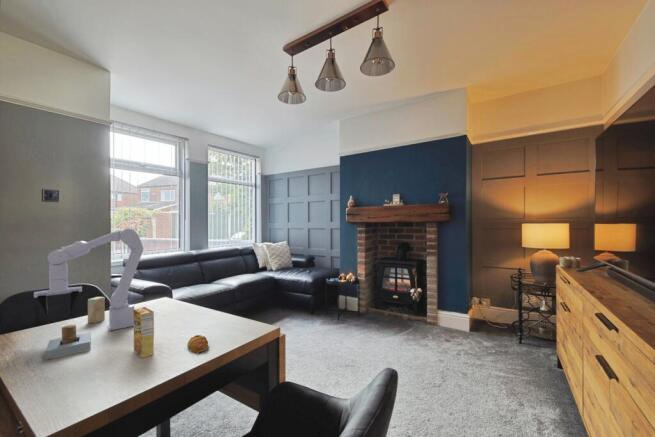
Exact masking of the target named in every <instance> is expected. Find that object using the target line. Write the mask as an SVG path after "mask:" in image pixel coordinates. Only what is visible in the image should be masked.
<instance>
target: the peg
mask: <svg viewBox="0 0 655 437" xmlns="http://www.w3.org/2000/svg"><path fill="white" fill-rule="evenodd" d="M76 335H77V325H76V324H68V325H65V326H62V327H61V338H62V345H64V344H69V343H73V342H77V337H76Z"/></svg>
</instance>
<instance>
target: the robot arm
mask: <svg viewBox="0 0 655 437" xmlns="http://www.w3.org/2000/svg"><path fill="white" fill-rule="evenodd" d="M120 241H121V242H122V243H123V244H125V245H127V247H128V248H129V250H130V252H129V255H128V258H127V260H126V264H125V266H124V269H123V271H122V274H121V277H120V279H119V282H118V285H117V287H116V290H115V291H113V292H112V294H111V296H110V299H109V305H110V306H108V307H109V308H108V310H109V311H108V312H109V313H108V316H109V317H108V319H109V321H108V322H109V324H108V325H107V327H108V331H109V332H111V331H115V330H120V329H124V328H129V327H134V311H133V310H134V309H135V305H134V304H130V303H128V296H129V295H128V293H129V289H130V286H131V283H132V282H133V279H134V275H135V274H136V271H137V268H138V265H139V263H140V261H141V260H140V259H141V257H142V255H143V251H144V246H143V243H142V241H141V238H140V236H139V234H138V233H137V231H136V230H134V229H133V228H125V229H123V230H122V229H121V230H116V231H112V232H110V233H108V234H105V235H102V236H99V237H96V238H94V239H92V240H90V241H84V240H80V241H79V240H76V241H74V242H73V243H72V244H70V245H66V246H61V247H60V249H54V250H53V251H51V252H49V254H47V262H48V264H49V268H48V278H49V280H48V282H49V283H48V284H49V285H48V286H49V287H48V288H49V289H45V290H40V291H39V290H38V291H34V292H33V298H35V299H36V298H37V301H38V303H39V304H40V305H41V307H42V309H43V313H44V315H48V314H49V307H48V296H56V295H65V294H70V307H69V308H70V310H69V311H73V309H74V305H75V302H76V299H77V297H78V295H79V293H81V292H83V286H74V287H73V286H70V287H69V267H68V260H73V259H75V258H79V257H82V256H84V255H86V254H89V252H90V251H91V249H94V248H96V247H99V246H101V245H105V244H106V243H110V242H120Z"/></svg>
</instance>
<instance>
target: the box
mask: <svg viewBox="0 0 655 437" xmlns="http://www.w3.org/2000/svg"><path fill="white" fill-rule="evenodd" d="M105 298H106V297H105V296H95V297H91V298H88V299H87V324H96V323H99V322H102V321H105V319H106V316H105V314H106V311H105V309H106V308H105V306H106V305H105V304H106V302H105V301H106V299H105Z"/></svg>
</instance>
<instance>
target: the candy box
mask: <svg viewBox="0 0 655 437" xmlns="http://www.w3.org/2000/svg"><path fill="white" fill-rule="evenodd" d="M133 311H134V326H133V352H134V353H135V354H136V355H137V356H139V357H140V358H141V359H144V358H146V357H150V356H152V355H154V354H155V351H154V350H155V349H154V348H155V347H154V346H155V343H154V340H155V336H154V334H155V324H154V323H155V319H154V318H155V312H154V311H153V310H151V309H149V308H147V307H145V306H143V307H138V308H134V310H133Z"/></svg>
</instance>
